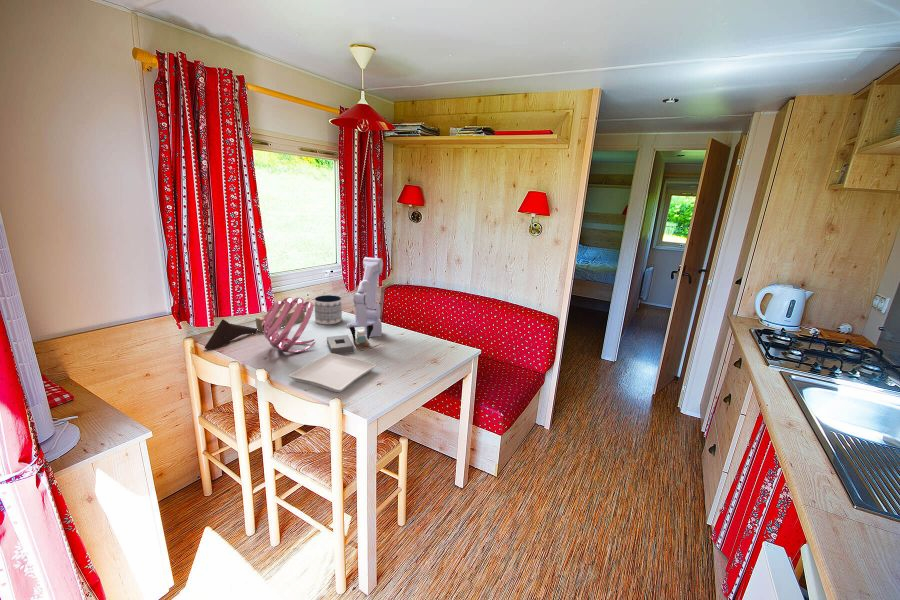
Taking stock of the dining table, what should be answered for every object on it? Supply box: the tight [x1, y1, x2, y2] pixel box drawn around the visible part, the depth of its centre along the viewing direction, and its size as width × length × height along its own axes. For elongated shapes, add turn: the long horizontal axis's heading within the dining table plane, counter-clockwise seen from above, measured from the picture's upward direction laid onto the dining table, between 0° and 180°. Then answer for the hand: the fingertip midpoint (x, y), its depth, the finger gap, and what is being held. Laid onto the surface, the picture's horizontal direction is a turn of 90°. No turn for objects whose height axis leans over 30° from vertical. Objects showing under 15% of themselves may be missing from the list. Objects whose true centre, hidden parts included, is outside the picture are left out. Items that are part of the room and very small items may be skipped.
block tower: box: [255, 306, 308, 332], centre depth 226 cm, size 8×8×29 cm
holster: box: [204, 319, 258, 350], centre depth 199 cm, size 5×16×25 cm
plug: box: [356, 329, 367, 343], centre depth 202 cm, size 4×4×8 cm
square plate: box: [287, 352, 377, 393], centre depth 168 cm, size 27×27×4 cm
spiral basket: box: [262, 296, 316, 354], centre depth 191 cm, size 28×28×27 cm
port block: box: [326, 334, 355, 355], centre depth 198 cm, size 11×16×4 cm
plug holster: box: [352, 338, 370, 349], centre depth 203 cm, size 7×8×2 cm
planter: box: [313, 294, 343, 325], centre depth 236 cm, size 16×16×14 cm
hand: (361, 339), depth 202 cm, fingers open, 7 cm apart
